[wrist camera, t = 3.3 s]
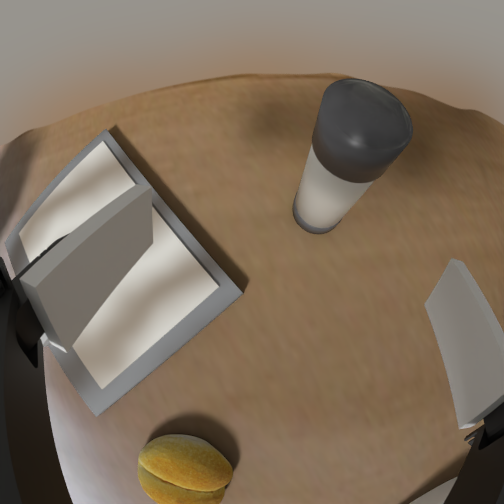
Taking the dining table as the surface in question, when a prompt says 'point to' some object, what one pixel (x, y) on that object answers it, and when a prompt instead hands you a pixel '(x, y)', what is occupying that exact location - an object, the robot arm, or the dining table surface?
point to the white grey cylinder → (349, 150)
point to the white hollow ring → (436, 494)
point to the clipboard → (133, 284)
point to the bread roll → (183, 470)
